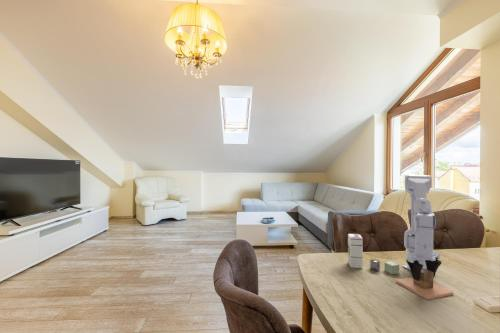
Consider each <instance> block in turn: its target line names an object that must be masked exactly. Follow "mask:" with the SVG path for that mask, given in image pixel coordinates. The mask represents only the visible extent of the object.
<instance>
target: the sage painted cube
mask: <svg viewBox="0 0 500 333" xmlns="http://www.w3.org/2000/svg"><path fill="white" fill-rule="evenodd" d="M383 271H384V272H386V273H389V275H397V274H400V264H398V263H396V262H394V261H384V270H383Z"/></svg>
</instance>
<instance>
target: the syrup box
mask: <svg viewBox="0 0 500 333" xmlns="http://www.w3.org/2000/svg"><path fill="white" fill-rule="evenodd" d="M363 240H364V239H363V237H362V235H361V234H359V233H348V234H347V263H348V265H349V267H350V268H354V269H363V266H364V265H363V264H364V261H363V260H364V259H363V258H364V255H363V252H364V249H363V246H364V245H363V243H364V242H363Z"/></svg>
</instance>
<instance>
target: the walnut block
mask: <svg viewBox="0 0 500 333" xmlns="http://www.w3.org/2000/svg"><path fill="white" fill-rule="evenodd" d="M433 274H434V272H432V271H429V270H427V269H425V268H422V269H421V273H420V280H419V281H417V280H415V279H413V284H415V285H417V286H419V287H421V288H423V289H429V288H433V283H434V278H433Z"/></svg>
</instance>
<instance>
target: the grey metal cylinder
mask: <svg viewBox="0 0 500 333" xmlns="http://www.w3.org/2000/svg"><path fill="white" fill-rule="evenodd" d="M369 269H370V270H371V271H372V272H380V271H381V261H380V260H379V259H376V258H375V259H373V258H371V259H370V260H369Z"/></svg>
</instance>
